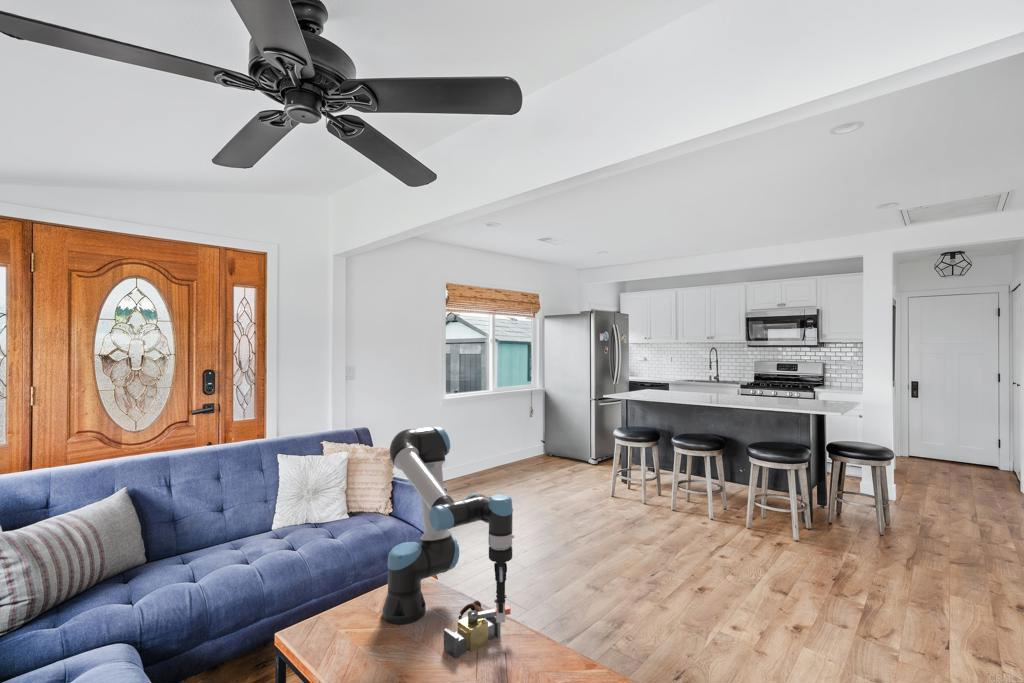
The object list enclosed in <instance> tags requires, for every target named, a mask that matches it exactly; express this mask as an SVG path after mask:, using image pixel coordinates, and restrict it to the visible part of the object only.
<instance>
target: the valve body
mask: <svg viewBox="0 0 1024 683" xmlns="http://www.w3.org/2000/svg"><path fill="white" fill-rule="evenodd" d="M501 623H502V622H500V623H496V616H493V617H488V618H485V619H478V621H477V622H476V623H469V622H468V616H466V617H462V619H461V620H459V619H458V620H457V631H455V632H453V631H452V630H450V629H449V628H444V629H443V651H444V652H445V653H447V654H448V655H449V656H450V657H452V658H453V659H454V660H455V661H456V660H458V659H459V658H460V656H461V655H464V654H466V653H467V652H469V653H471V654H472V653H473V652H475V651H477V650H479V649H481V648H483V647H485V646H486V645H488V644H489V641H491V640H493V639H495V638H497V639H499V638H501Z"/></svg>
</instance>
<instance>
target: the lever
mask: <svg viewBox="0 0 1024 683" xmlns="http://www.w3.org/2000/svg"><path fill="white" fill-rule="evenodd" d="M507 615H511V607H510V606H509V605H505V616H507ZM493 616H496V607H493V608H491V609H486V610H484V611H481V612H477V611H475V610H469V611H468V612H467V617H468V622H469V623H476V622H477V621H478V619H483V618H488V617H493Z"/></svg>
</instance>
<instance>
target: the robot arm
mask: <svg viewBox="0 0 1024 683" xmlns="http://www.w3.org/2000/svg"><path fill="white" fill-rule="evenodd" d="M450 450H451V441H450V437H449V434H448V433H447V431H446V430H445V429H444V428H442V427H441V426H427V427H419V428H410V429H409V428H407V429H403V430H401V431H400V432H398V433H397V434H396V435H395V436H394V437H393V439H392V441H391V443H390V446H389V456H390V459H391V462H392V464H393V465H394V467H395V468H396V469H397V470H400V471H402V472H403V474H404V475H405V477H406V478H407V479H408V481H409V482H410V483H411V485H412V487H413V488H414V489H415V491H417V494H418V495H419V497H420V498H421V505H422V506H421V507H422V518H423V533H422V535H421V536H420V543H419V542H418V541H409V542H408V541H406V542H402V543H399V544H396V545H395V546H394V547H392V548H391V549H390V551H389V552H388V553H389V554H388V557H387V594H386V597H385V599H384V604H383V607H382V618H383V620H384V621H386V622H388V623H390V624H395V625H407V624H411V623H414V622H417V621H418V620H421V619H422V618H423V617H424V616H425V614H426V611H427V610H426V608H427V604H426V601H425V598H424V595H423V592H422V580H424V579H427V578H430V577H433V576H436V575H439V574H444V573H447V572H448V571H450V570H453V569H454V568H455V567H456V565H458V563H459V559H460V545H459V544H458V540H457V539H456V538H455V537H454V536H453V534H452V532H451V531H449V530H451V529H454V528H457V527H459V526H463V525H468V524H472V523H475V522H479V521H480V522H481V521H482V522H483V523H486V524H488V559H489V560H490V562H493V564H494V569H493V571H494V576H495V577H494V578H495V579H494V580H495V582H496V583H495V584H496V587H495V588H496V591H495V593H496V595H495V596H496V598H495V599H494V601H493V602H494V603H495V604H496V606H495V608H496V623H500V622H501V623H506V615H505V606H506V599H507V598H508V596H507V594H506V581H507V572H508V566H507V565H508V564H507V562H509V561H511V560H512V559H513V546H512V545H513V539H514V538H515V535H514V534H513V511H514V509H513V499H512V497H511V496H509V495H508V494H507V495H506V494H502V493H500V494H493V495H491V496H490V497H489V496H486V495H484V494H482V493H477V492H475V493H470V494H469V495H468V496H467V497H466V498H465V499H461V500H456V501H454V499H453V498H452V497H451V496H450V494H449V493H448V492H447V490H446V489H445V488H444V477H443V465H444V463H445V462H446V456H447V455H448V454H449V453H450Z"/></svg>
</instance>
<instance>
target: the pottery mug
mask: <svg viewBox="0 0 1024 683" xmlns="http://www.w3.org/2000/svg"><path fill="white" fill-rule="evenodd" d="M468 610H470V611H472V610H475V611H477V612H481V611H485V609H483V607H482V603H481V602H480V601H479V600H475V601H473V602H472V603H467V604H466V605H465V606H464V607H463V608H462V609H461V610H460V611H459V615H458V621H459V620H461V619H463V615H464V614H465V613H466V612H467V611H468ZM483 619H485V618H483Z"/></svg>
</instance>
